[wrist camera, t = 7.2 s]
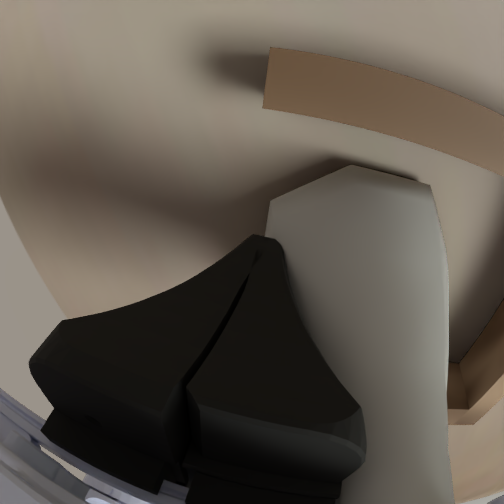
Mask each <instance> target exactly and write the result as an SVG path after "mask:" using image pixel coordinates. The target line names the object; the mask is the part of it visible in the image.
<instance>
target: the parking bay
mask: <svg viewBox="0 0 504 504" xmlns="http://www.w3.org/2000/svg"><path fill="white" fill-rule="evenodd" d="M262 108H264V109H271V110H277V111H283V112H289V113H295V114H301V115H306V116H311V117H316V118H321V119H326V120H331V121H335V122H340V123H344V124H348V125H352V126H357V127H361V128H365V129H368V130H372V131H376V132H380V133H383V134H387V135H390V136H394V137H397V138H401V139H404V140H407V141H410V142H414V143H417V144H420V145H423V146H426V147H429V148H432V149H435V150H438V151H441V152H443V153H446V154H449V155H452V156H454V157H457V158H460V159H462V160H465V161H468V162H470V163H473V164H475V165H478V166H480V167H482V168H485V169H487V170H490V171H492V172H494V173H497V174H499V175H501V176H503V177H504V116H502V115H500V114H498V113H496V112H494V111H492V110H490V109H488V108H486V107H484V106H482V105H480V104H477V103H475V102H473V101H471V100H469V99H466V98H464V97H462V96H459V95H457V94H454V93H452V92H449V91H447V90H444V89H442V88H439V87H436V86H434V85H431V84H428V83H425V82H423V81H420V80H417V79H414V78H411V77H408V76H405V75H401V74H398V73H395V72H392V71H388V70H385V69H381V68H377V67H374V66H370V65H366V64H362V63H358V62H354V61H349V60H345V59H340V58H335V57H330V56H325V55H320V54H314V53H308V52H302V51H296V50H289V49H281V48H272V47H270V53H269V61H268V68H267V76H266V84H265V92H264V100H263V107H262ZM446 395H447V413H448V425H474V424H475V423H476V422H477V421H478V420H479V419H480V418H481V417H483V416H484V415H485V414H486V413H487V412H488V411H489V410H490V409H491V408H492V407H493V406H494V405H495V404H496V403H497V402H498V401H499V400H500V399H501V398H502V397H503V396H504V299H503V301H502V303H501V304H500V306H499V307H498V309H497V311H496V312H495V314H494V315H493V317H492V318H491V320H490V321H489V323H488V324H487V326H486V327H485V329H484V330H483V332H482V333H481V335H480V336H479V337H478V339H477V340H476V342H475V343H474V344H473V346H472V347H471V348H470V350H469V351H468V352H467V354H466V355H465V356H464V358H463V359H462V360H461V362H460V363H459V364H458V363H449V362H448V378H447V392H446Z"/></svg>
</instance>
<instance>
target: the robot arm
mask: <svg viewBox="0 0 504 504" xmlns="http://www.w3.org/2000/svg"><path fill="white" fill-rule="evenodd" d="M29 368H30V372H31V374H32V376H33V378H34V380H35V382H36V383H37V385H38V386H39V387H40V389H41V390H42V392H43V393H44V395H45V396H46V397H47V399H48V400H49V402H50V403H51V404H52V406H53V407H54V410H53V411H52V413H51V414H50V416H49V417H48V419H47V421H46V420H44V419H43V418H41V417H40V416H38V415H37V414H35V413H34V412H32V411H31V410H29V409H28V408H26V407H25V406H23V405H22V404H21V403H19V402H18V401H17V400H15V399H14V398H13V397H11V396H10V395H9V394H7V393H6V392H5V391H3V390H2V389H1V388H0V504H335V499H338V498H339V497H340V494H341V486H342V481H343V480H344V479H346V478H347V477H348V476H350V475H351V474H352V473H354V472H355V471H356V470H357V469H359V468H360V467H361V466H362V465H363V463H364V462H365V458H366V450H367V441H366V431H365V423H364V417H363V412H362V408H361V406H360V405H359V404H358V403H357V401H356V400H355V399H354V398H353V397H352V396H351V394H350V393H349V392H348V391H347V390H346V388H345V387H344V386H343V385H342V384H341V382H340V381H339V380H338V378H337V377H336V375H335V374H334V373H333V371H332V370H331V368H330V367H329V365H328V364H327V362H326V361H325V359H324V357H323V356H322V354H321V352H320V351H319V349H318V348H317V346H316V344H315V343H314V341H313V339H312V337H311V335H310V333H309V331H308V329H307V327H306V325H305V323H304V321H303V319H302V317H301V314H300V312H299V310H298V307H297V304H296V302H295V299H294V296H293V293H292V290H291V286H290V283H289V279H288V275H287V271H286V265H285V259H284V251H283V248H282V246H281V244H280V243H279V242H278V241H277V240H276V239H274V238H269V237H264V236H260V235H255V234H253V235H251V236H250V237H248V238H247V239H246V240H245V241H244V242H242V243H241V244H240V245H239V246H238V247H236V248H235V249H234V250H232V251H231V252H230V253H228V254H227V255H226V256H224V257H223V258H222V259H220V260H219V261H218V262H216V263H215V264H213V265H212V266H210V267H209V268H207V269H205V270H204V271H202V272H201V273H199V274H198V275H196V276H194V277H193V278H191V279H189V280H187V281H185V282H184V283H182V284H180V285H178V286H176V287H174V288H171V289H169V290H167V291H165V292H162V293H160V294H157V295H155V296H152V297H150V298H147V299H145V300H142V301H139V302H137V303H133V304H130V305H127V306H124V307H121V308H117V309H114V310H110V311H106V312H102V313H98V314H93V315H88V316H83V317H78V318H73V319H67V320H62V321H61V322H60V323H59V324H58V325H57V326H56V328H55V329H54V330H53V331H52V332H51V334H50V335H49V336H48V337H47V339H46V340H45V341H44V342H43V343H42V345H41V346H40V347H39V348H38V350H37V351H36V352H35V353H34V354H33V356H32V357H31V358H30V361H29ZM40 445H41V446H42V447H44V448H45V449H47V450H48V451H50V452H52V453H53V454H55V455H56V456H58V457H59V458H61V459H63V460H64V461H66V462H67V463H69V464H71V465H73V466H74V467H76V468H78V469H79V470H81V471H83V472H85V473H87V474H86V476H85V477H84V480H83V481H81V480H79V479H78V478H77V477H75V476H74V475H72V474H71V473H70V472H69V471H67V470H66V469H65V468H64V467H63V466H62V465H61V464H60V463H58V462H57V461H55V460H54V459H52V458H51V457H50V456H48V455H47V454H45V453H44V452H43V451H41V447H40ZM487 504H504V495H502V496H500V497H498V498H496V499H494V500H492V501H490V502H488V503H487Z"/></svg>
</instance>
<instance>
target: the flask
mask: <svg viewBox="0 0 504 504" xmlns="http://www.w3.org/2000/svg"><path fill="white" fill-rule="evenodd" d="M265 237H269V238H274V239H276V240H277V241H278V242H279V243H280V244H281V246H282V248H283V251H284V259H285V265H286V271H287V275H288V279H289V283H290V286H291V290H292V293H293V296H294V299H295V302H296V304H297V307H298V310H299V312H300V314H301V317H302V319H303V321H304V323H305V325H306V327H307V329H308V331H309V333H310V335H311V337H312V339H313V341H314V343H315V344H316V346H317V348H318V349H319V351H320V352H321V354H322V356H323V357H324V359H325V361H326V362H327V364H328V365H329V367H330V368H331V370H332V371H333V373H334V374H335V375H336V377H337V378H338V380H339V381H340V382H341V384H342V385H343V386H344V387H345V388H346V390H347V391H348V392H349V393H350V394H351V396H352V397H353V398H354V399H355V400H356V401H357V403H358V404H359V405H360V406H361V408H362V412H363V417H364V423H365V431H366V441H367V450H366V458H365V462H364V463H363V465H362V466H361V467H360V468H359V469H357V470H356V471H355V472H354V473H352V474H351V475H350V476H348V477H347V478H346V479H344V480H343V481H342V486H341V494H340V497H339V498H338V499H335V504H455V501H454V494H453V484H452V475H451V466H450V459H449V452H448V413H447V395H446V392H447V378H448V356H449V282H448V262H447V253H446V247H445V243H444V238H443V233H442V229H441V225H440V221H439V216H438V212H437V209H436V205H435V201H434V197H433V194H432V190H431V187H430V185H428V184H424V183H421V182H417V181H414V180H410V179H406V178H403V177H399V176H395V175H391V174H388V173H384V172H380V171H376V170H372V169H367V168H363V167H359V166H355V165H349V166H347V167H344V168H342V169H340V170H337V171H335V172H333V173H330V174H328V175H326V176H324V177H321V178H319V179H317V180H315V181H312V182H310V183H308V184H306V185H303V186H301V187H299V188H297V189H295V190H292V191H290V192H288V193H286V194H284V195H281V196H279V197H277V198H275V199H273V200H271V201H270V205H269V212H268V218H267V224H266V230H265Z"/></svg>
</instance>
